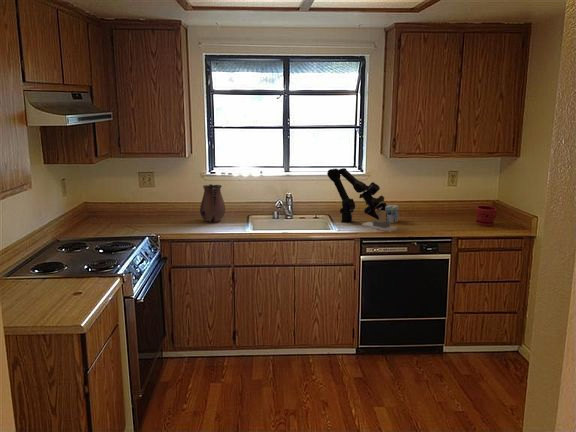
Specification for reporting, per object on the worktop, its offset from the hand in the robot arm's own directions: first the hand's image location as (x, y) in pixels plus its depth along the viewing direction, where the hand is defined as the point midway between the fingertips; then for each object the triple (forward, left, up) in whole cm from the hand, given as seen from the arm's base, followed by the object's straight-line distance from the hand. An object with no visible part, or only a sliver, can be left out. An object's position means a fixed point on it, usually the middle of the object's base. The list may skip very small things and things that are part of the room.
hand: (382, 218), depth 323 cm
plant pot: (+67, +27, -7) cm, 72 cm away
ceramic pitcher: (-115, -6, -7) cm, 116 cm away
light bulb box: (+5, +22, -7) cm, 23 cm away
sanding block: (-1, 0, -5) cm, 5 cm away
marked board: (-2, +1, -7) cm, 7 cm away
